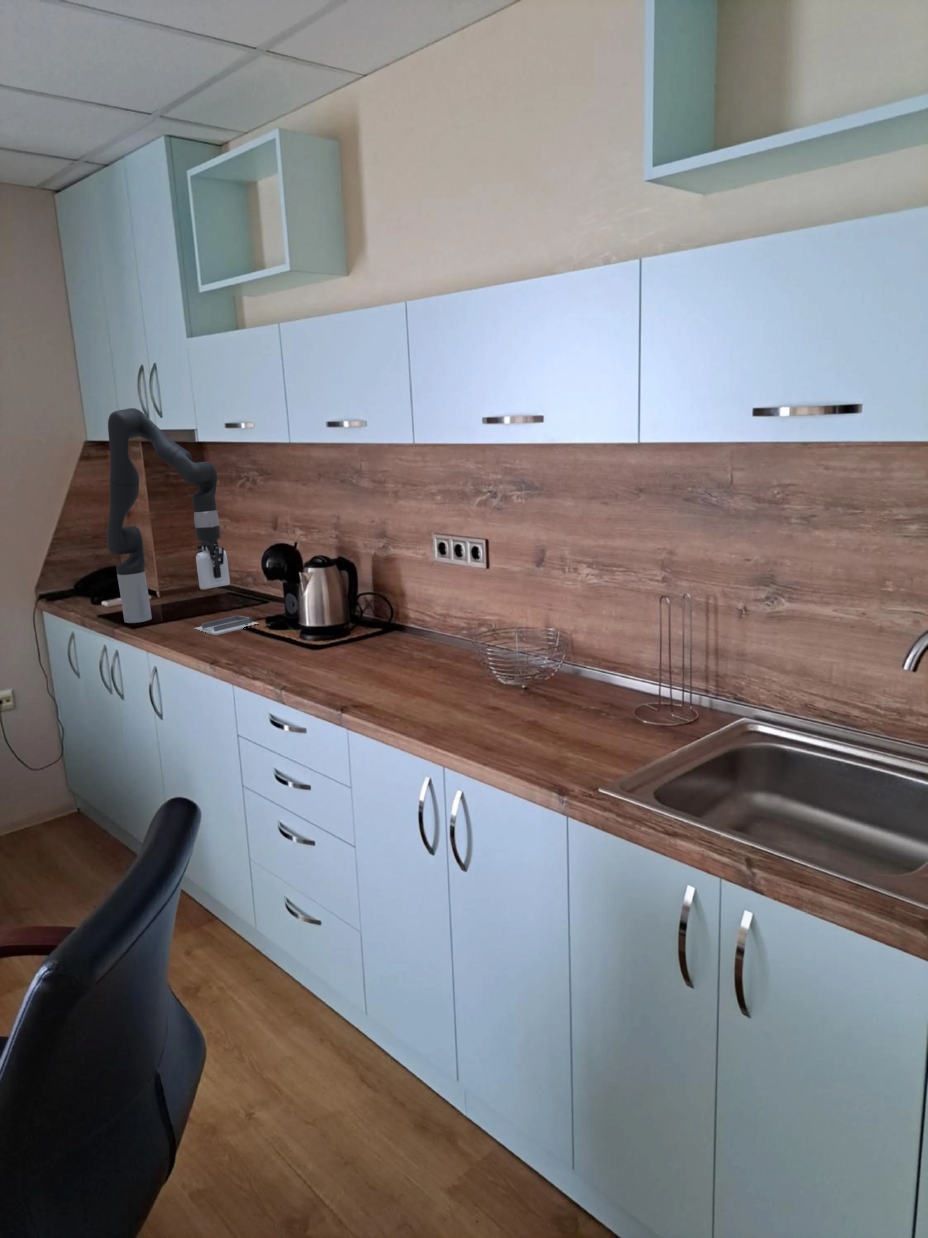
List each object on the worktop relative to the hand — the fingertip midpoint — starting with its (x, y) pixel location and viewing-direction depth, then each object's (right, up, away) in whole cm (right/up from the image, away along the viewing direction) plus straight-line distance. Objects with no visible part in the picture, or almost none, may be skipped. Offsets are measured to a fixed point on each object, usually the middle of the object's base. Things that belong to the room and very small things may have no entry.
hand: (214, 576), depth 293 cm
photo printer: (0, -3, +1) cm, 4 cm away
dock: (+3, -17, +5) cm, 18 cm away
